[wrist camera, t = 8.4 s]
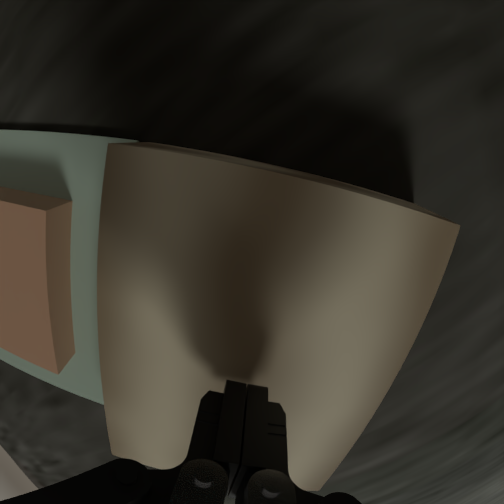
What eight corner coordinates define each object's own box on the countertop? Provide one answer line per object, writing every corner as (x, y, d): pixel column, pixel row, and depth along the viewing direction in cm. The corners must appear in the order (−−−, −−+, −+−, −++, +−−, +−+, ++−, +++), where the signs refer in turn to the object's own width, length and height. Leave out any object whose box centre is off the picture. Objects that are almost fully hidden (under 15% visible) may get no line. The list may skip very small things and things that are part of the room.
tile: (-34, 192, 11) (-7, 185, 13) (-15, 339, 14) (4, 322, 16) (46, 210, 11) (72, 200, 13) (58, 374, 14) (75, 352, 16)
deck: (414, 203, 13) (460, 225, 9) (312, 442, 18) (318, 490, 15) (149, 142, 13) (108, 143, 9) (131, 409, 18) (112, 454, 14)
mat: (139, 140, 13) (135, 140, 12) (124, 406, 18) (122, 410, 18) (-19, 129, 12) (-23, 129, 12) (-1, 354, 18) (-4, 357, 17)
